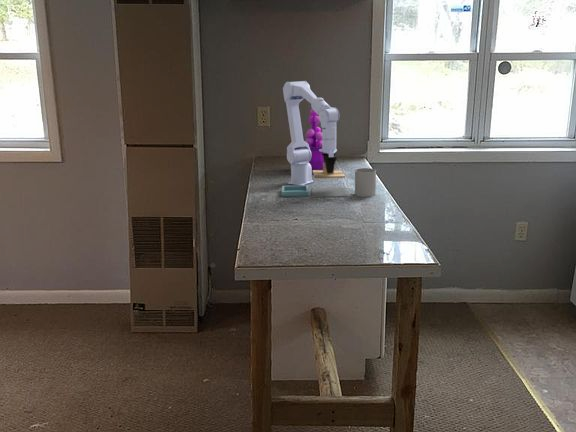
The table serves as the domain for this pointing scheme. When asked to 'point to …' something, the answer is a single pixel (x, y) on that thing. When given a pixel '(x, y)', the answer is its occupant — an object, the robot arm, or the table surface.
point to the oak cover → (324, 173)
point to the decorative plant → (315, 142)
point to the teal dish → (295, 191)
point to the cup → (365, 182)
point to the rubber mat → (329, 192)
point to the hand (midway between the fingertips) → (329, 171)
